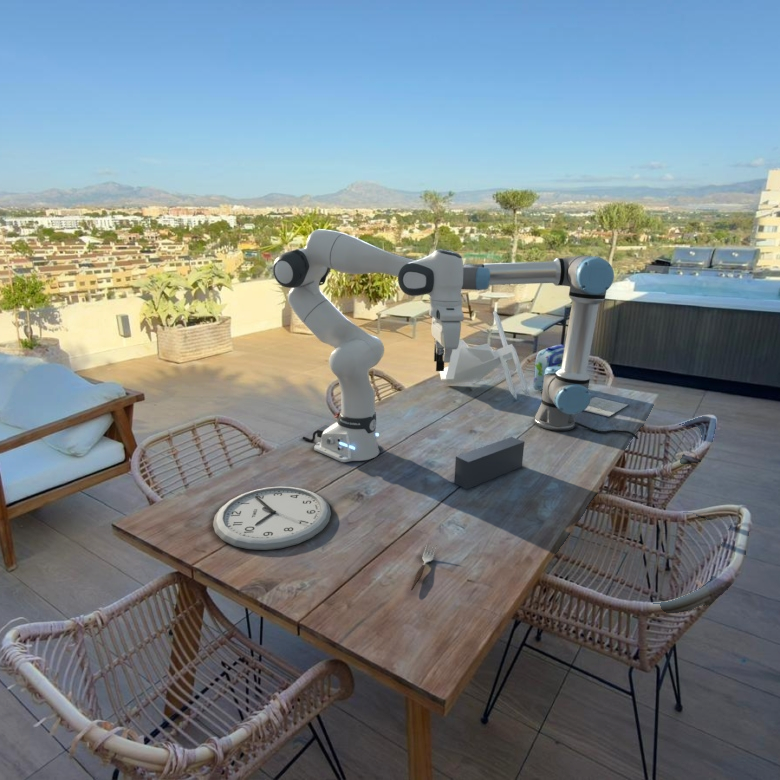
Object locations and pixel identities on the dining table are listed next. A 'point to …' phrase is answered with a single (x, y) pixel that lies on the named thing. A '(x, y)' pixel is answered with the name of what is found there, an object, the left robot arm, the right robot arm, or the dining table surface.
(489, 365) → the white plastic object
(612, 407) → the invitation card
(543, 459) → the dining table surface
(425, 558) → the fork
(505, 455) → the bar
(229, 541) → the wall clock
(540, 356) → the lunch box
